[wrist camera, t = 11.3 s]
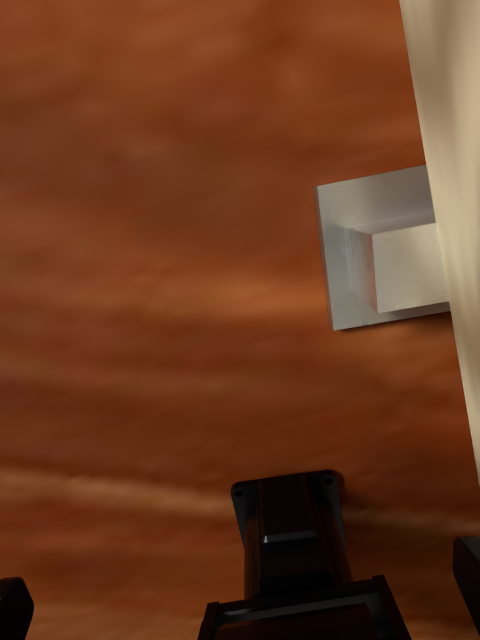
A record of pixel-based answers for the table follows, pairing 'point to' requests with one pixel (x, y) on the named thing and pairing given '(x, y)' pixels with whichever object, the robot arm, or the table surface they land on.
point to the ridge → (380, 249)
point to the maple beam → (453, 162)
